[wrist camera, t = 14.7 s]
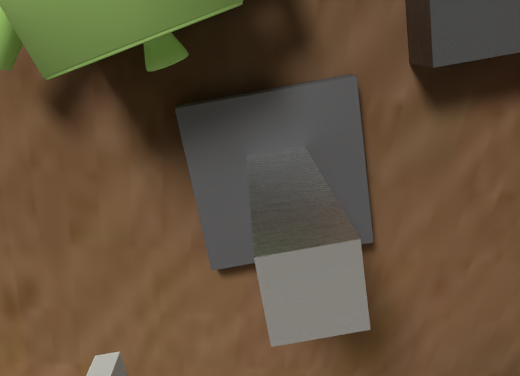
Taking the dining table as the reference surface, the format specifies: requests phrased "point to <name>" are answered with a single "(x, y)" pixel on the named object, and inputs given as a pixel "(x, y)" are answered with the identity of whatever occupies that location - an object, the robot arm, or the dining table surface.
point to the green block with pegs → (98, 30)
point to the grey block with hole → (461, 30)
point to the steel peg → (304, 251)
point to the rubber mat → (266, 141)
